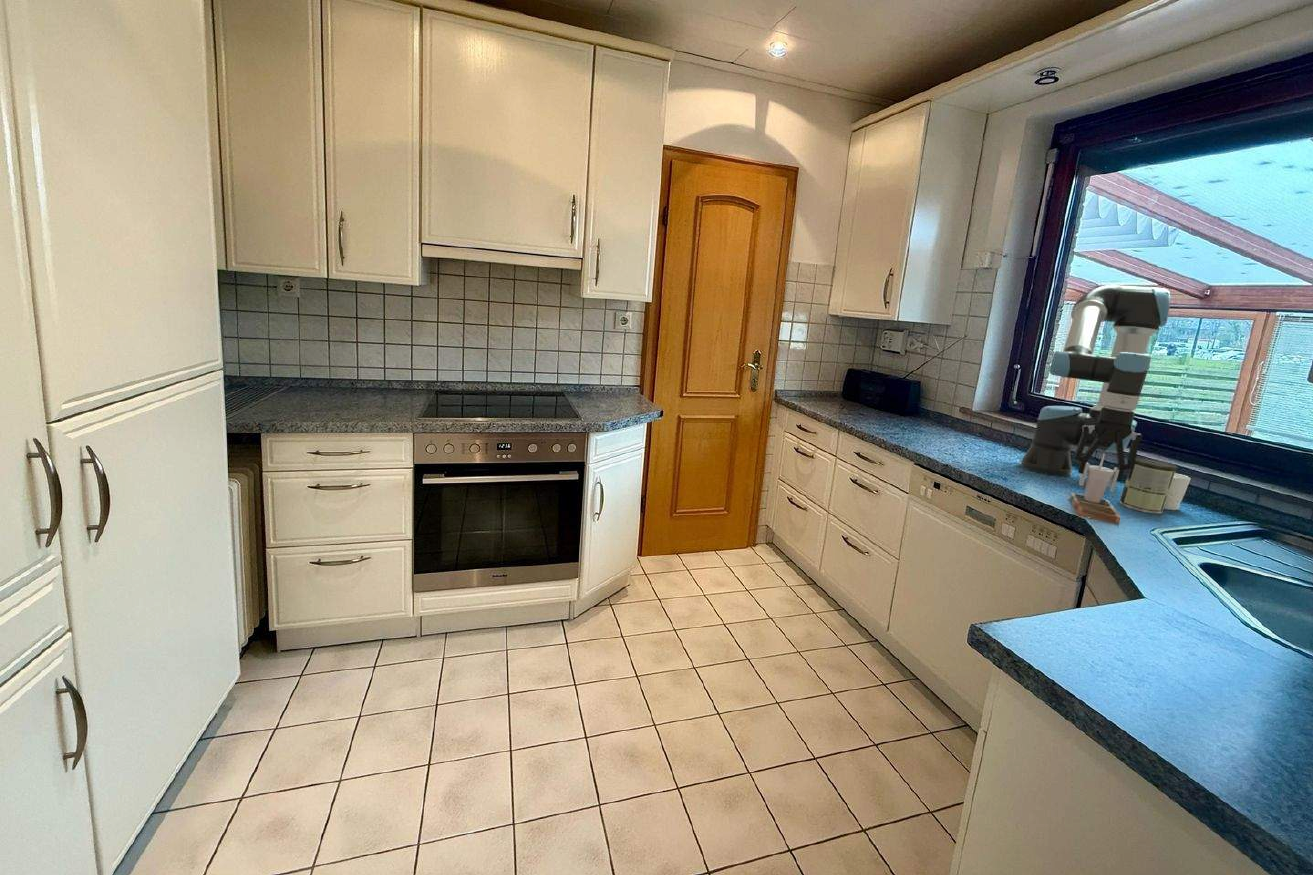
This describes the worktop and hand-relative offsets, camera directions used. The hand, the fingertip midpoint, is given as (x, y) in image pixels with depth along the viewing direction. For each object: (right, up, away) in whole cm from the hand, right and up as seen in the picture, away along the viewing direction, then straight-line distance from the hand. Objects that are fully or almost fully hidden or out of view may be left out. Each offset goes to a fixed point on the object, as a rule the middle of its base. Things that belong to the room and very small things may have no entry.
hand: (1095, 487), depth 167 cm
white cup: (+27, -7, +9) cm, 30 cm away
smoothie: (0, -4, +1) cm, 4 cm away
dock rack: (-3, -6, -3) cm, 8 cm away
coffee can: (+17, -7, +6) cm, 20 cm away
